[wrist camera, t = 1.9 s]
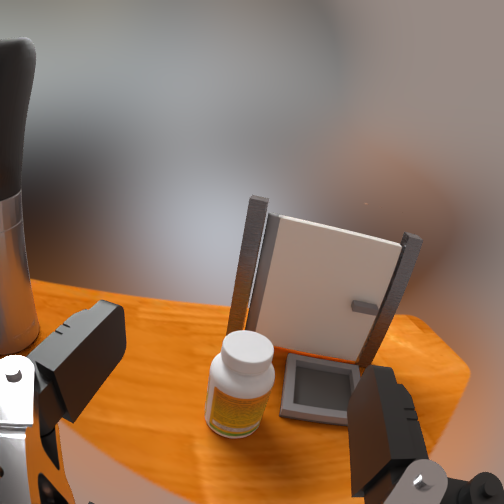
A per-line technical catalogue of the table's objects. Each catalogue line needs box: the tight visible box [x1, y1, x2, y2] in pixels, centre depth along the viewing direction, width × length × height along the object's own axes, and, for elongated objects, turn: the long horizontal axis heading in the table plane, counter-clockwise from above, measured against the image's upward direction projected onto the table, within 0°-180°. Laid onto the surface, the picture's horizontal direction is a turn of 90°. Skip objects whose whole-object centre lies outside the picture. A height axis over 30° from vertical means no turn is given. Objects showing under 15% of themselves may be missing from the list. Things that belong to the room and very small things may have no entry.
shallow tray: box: [279, 353, 361, 426], centre depth 31 cm, size 9×9×1 cm
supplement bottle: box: [205, 330, 275, 438], centre depth 24 cm, size 5×5×10 cm
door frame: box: [226, 195, 423, 368], centre depth 34 cm, size 19×2×18 cm, turn 81°
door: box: [245, 213, 402, 361], centre depth 34 cm, size 15×3×16 cm, turn 81°
